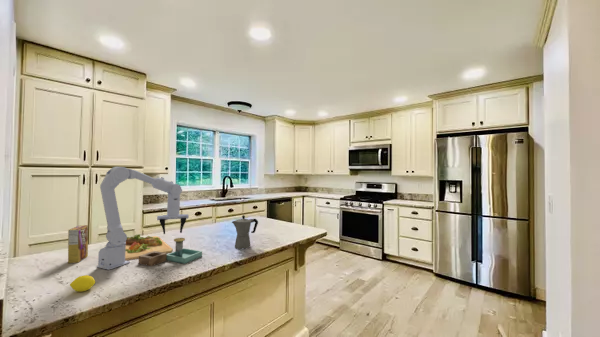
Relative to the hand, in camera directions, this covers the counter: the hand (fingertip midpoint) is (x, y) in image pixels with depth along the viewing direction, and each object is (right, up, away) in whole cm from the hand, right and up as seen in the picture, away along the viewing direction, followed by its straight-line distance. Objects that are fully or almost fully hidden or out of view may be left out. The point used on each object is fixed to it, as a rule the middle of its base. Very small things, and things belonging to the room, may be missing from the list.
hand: (172, 233), depth 133 cm
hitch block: (-3, -10, -13) cm, 17 cm away
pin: (+7, -10, -8) cm, 14 cm away
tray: (+9, -11, -7) cm, 15 cm away
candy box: (-38, -9, -13) cm, 41 cm away
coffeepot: (+34, -12, +15) cm, 39 cm away
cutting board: (-21, -11, +7) cm, 25 cm away
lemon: (-11, -10, -42) cm, 45 cm away
